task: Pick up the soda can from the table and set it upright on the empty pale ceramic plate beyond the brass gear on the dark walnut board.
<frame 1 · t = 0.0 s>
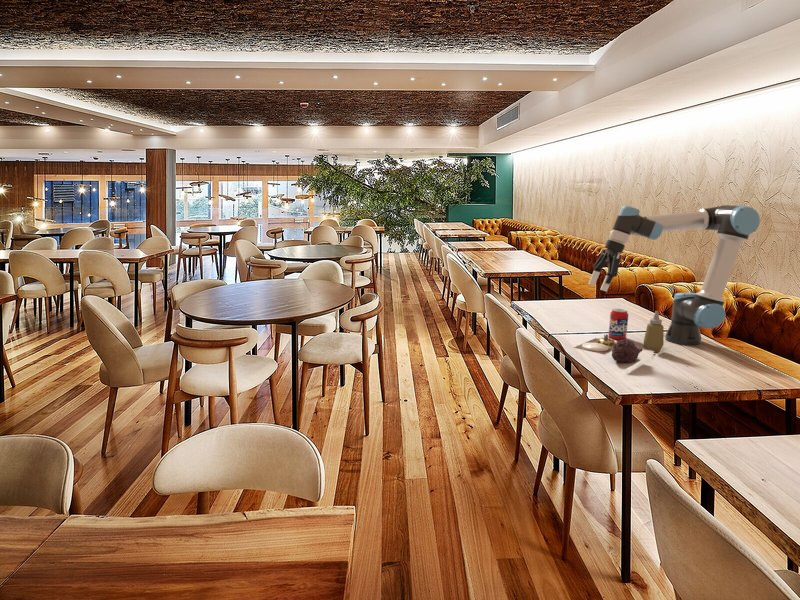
hand: (597, 287, 234), 28 cm above the table, tool tilted 20°, fingers open, 13 cm apart
gear board: (599, 349, 239), on the table
ceramic plate: (595, 347, 236), resting on gear board
soda can: (616, 341, 253), on the table
squeeze bottle: (652, 351, 237), on the table
brass gear: (605, 343, 243), resting on gear board
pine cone: (623, 364, 219), on the table
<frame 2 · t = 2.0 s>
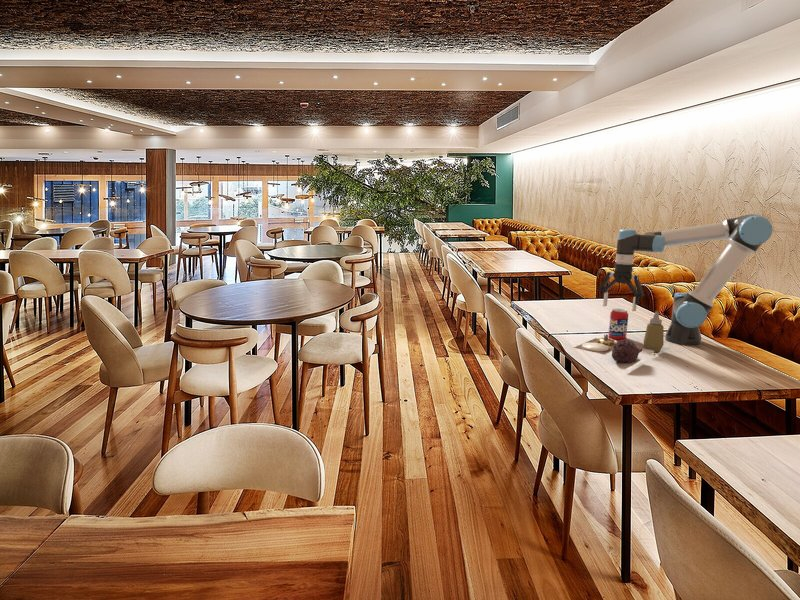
hand: (619, 308, 250), 16 cm above the table, tool pointing down, fingers open, 13 cm apart
nothing on the table moved.
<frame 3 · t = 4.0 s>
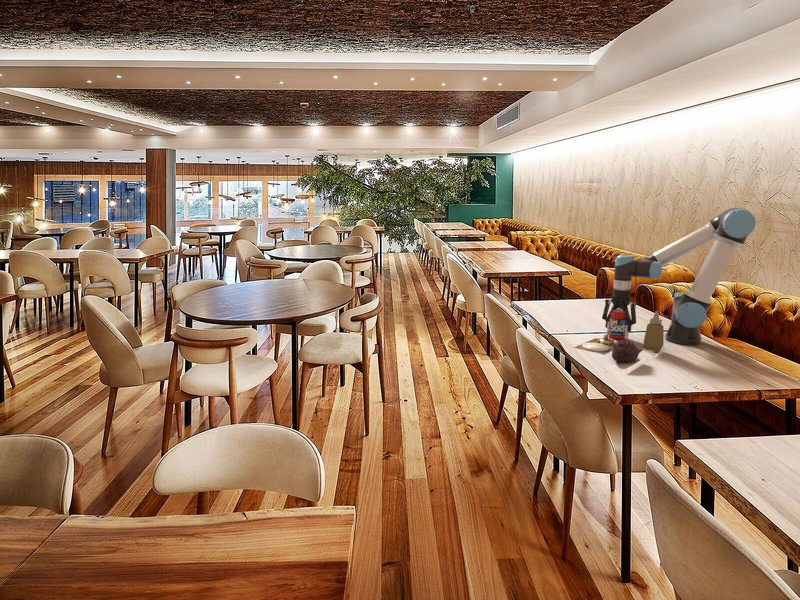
hand: (617, 336, 252), 2 cm above the table, tool pointing down, fingers closed on soda can, 8 cm apart
soda can: (616, 341, 253), on the table, touching gripper
everything else where it was.
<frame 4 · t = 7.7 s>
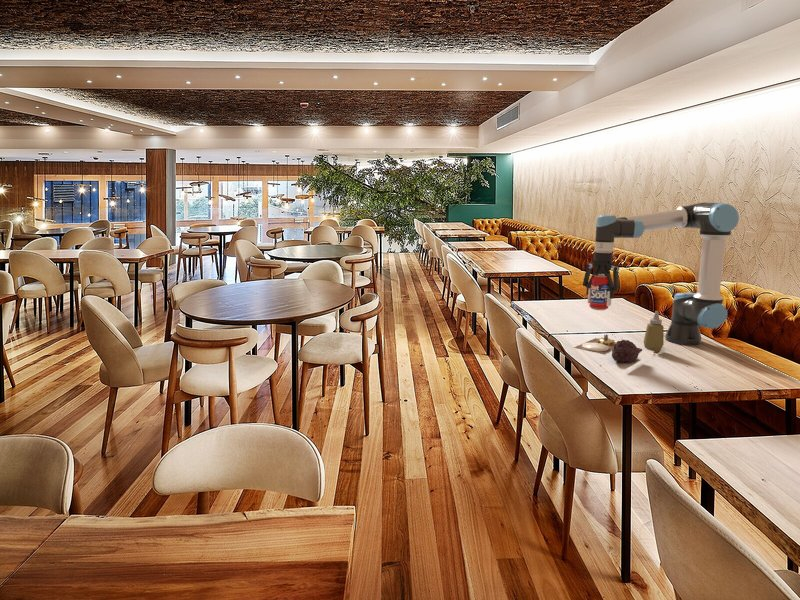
hand: (599, 304, 232), 21 cm above the table, tool pointing down, fingers closed on soda can, 8 cm apart
soda can: (598, 309, 233), point 19 cm above the table, touching gripper
everything else where it was.
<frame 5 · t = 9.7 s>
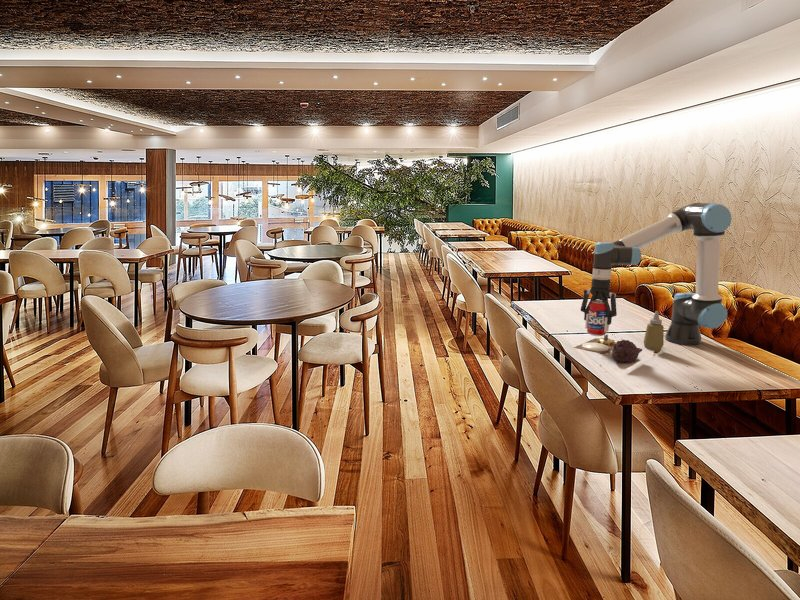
hand: (596, 329, 234), 10 cm above the table, tool pointing down, fingers closed on soda can, 8 cm apart
soda can: (596, 334, 235), point 7 cm above the table, touching gripper
everything else where it was.
when the fingers open (6 cm above the table, at t = 11.3 s): soda can drops 2 cm, resting on ceramic plate.
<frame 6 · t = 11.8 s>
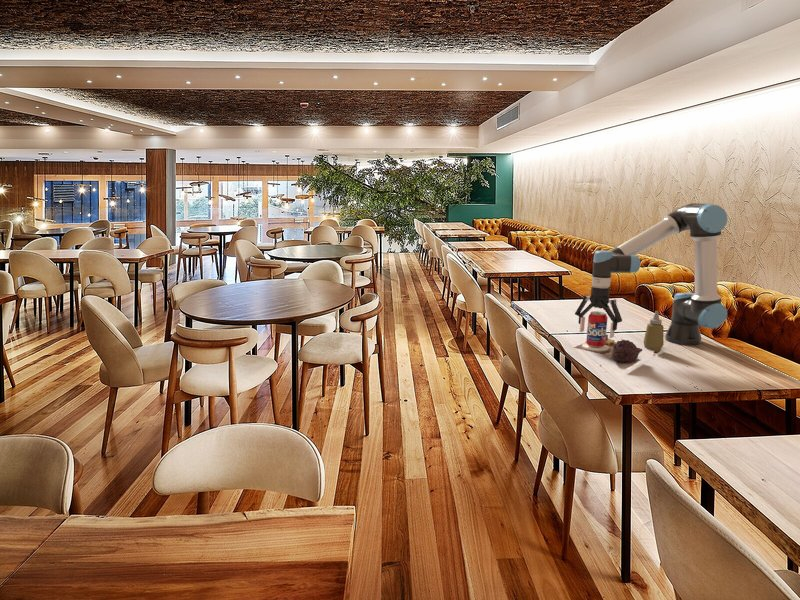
hand: (596, 334, 235), 8 cm above the table, tool pointing down, fingers open, 13 cm apart
soda can: (595, 346, 236), point 2 cm above the table, touching ceramic plate
everything else where it was.
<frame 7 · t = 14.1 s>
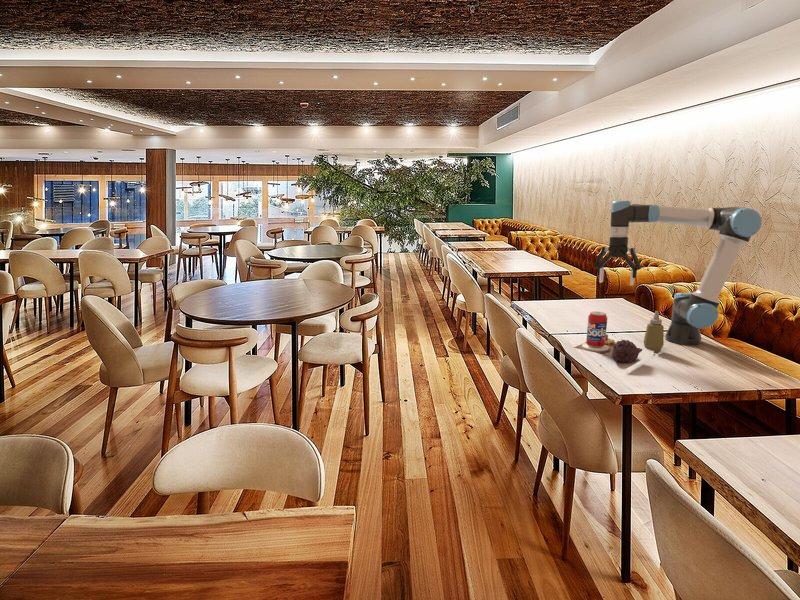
hand: (616, 283, 240), 29 cm above the table, tool pointing down, fingers open, 13 cm apart
nothing on the table moved.
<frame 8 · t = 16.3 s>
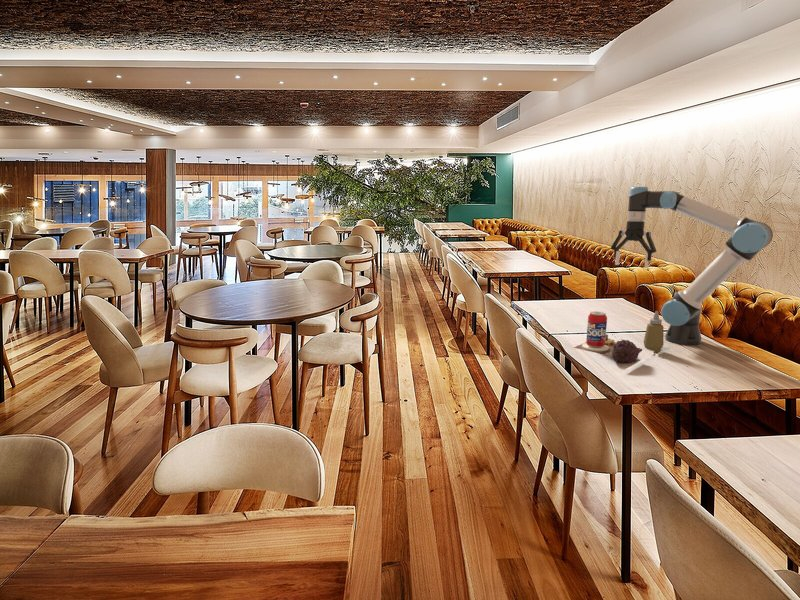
hand: (631, 266, 252), 35 cm above the table, tool pointing down, fingers open, 13 cm apart
nothing on the table moved.
at the end: soda can inside the target area on the ceramic plate (0.1 cm from its centre), point 0.6 cm above the ceramic plate's base; soda can tilted 0°; the gripper is holding nothing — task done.
